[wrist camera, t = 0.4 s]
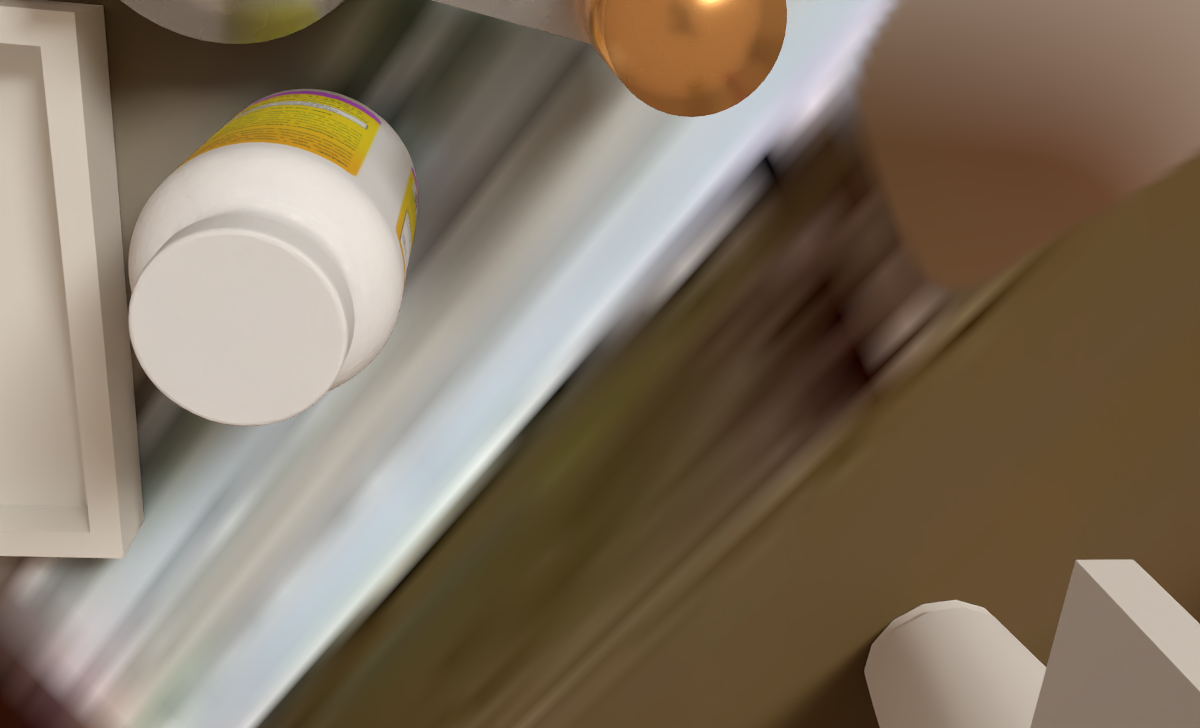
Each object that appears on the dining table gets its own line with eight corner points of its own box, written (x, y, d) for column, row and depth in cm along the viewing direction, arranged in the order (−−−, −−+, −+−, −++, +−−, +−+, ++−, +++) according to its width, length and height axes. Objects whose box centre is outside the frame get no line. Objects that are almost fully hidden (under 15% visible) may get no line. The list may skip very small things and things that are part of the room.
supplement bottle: (170, 146, 34) (6, 271, 22) (350, 47, 33) (280, 120, 21) (289, 318, 36) (199, 511, 25) (458, 228, 36) (448, 383, 24)
